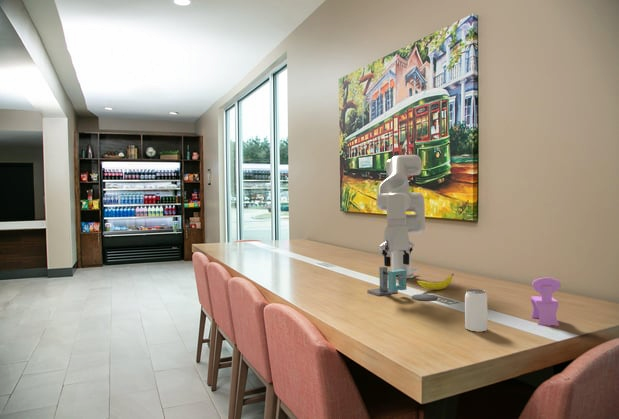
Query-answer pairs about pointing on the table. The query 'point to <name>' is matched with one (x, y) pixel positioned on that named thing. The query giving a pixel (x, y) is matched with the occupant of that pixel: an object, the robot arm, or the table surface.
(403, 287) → the link
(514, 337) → the table surface
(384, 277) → the stand
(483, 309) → the can
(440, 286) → the banana
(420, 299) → the coaster
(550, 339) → the table surface
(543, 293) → the toy chair
